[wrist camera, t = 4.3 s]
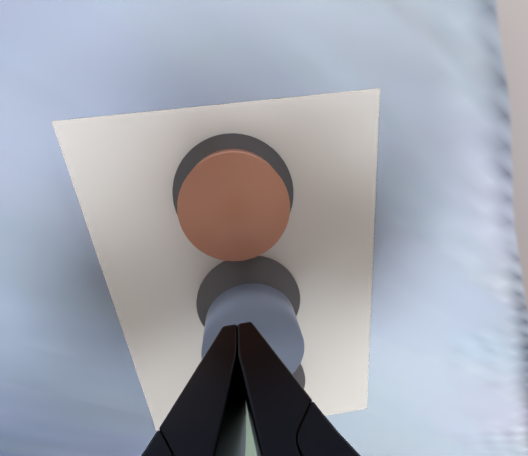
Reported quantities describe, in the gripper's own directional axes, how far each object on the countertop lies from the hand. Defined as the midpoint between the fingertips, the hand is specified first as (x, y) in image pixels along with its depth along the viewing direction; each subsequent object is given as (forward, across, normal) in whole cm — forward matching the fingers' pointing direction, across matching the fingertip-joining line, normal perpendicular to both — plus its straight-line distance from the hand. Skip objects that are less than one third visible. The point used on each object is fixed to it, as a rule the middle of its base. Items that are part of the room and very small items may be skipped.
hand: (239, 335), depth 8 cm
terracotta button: (+6, 0, -3) cm, 7 cm away
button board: (+9, 0, +3) cm, 9 cm away
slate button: (+5, 0, +3) cm, 6 cm away
